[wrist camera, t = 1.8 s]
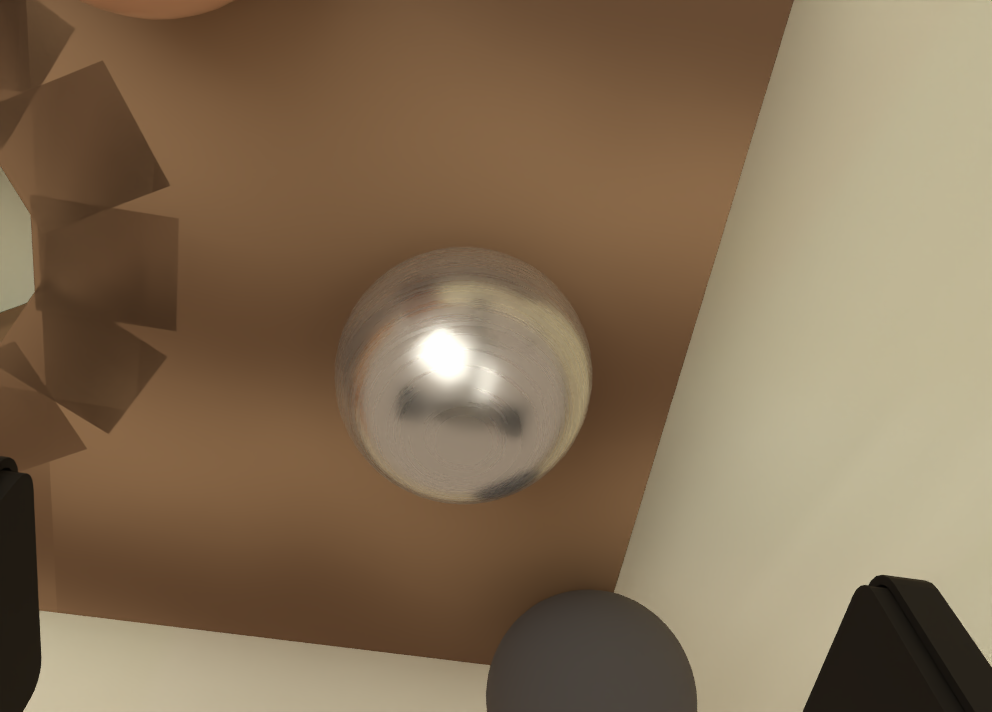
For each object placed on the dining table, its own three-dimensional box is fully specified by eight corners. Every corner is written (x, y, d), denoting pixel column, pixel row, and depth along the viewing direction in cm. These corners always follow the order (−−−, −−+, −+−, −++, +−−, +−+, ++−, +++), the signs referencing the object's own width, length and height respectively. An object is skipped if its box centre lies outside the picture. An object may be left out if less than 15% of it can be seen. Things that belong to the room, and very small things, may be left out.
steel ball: (365, 194, 15) (329, 288, 11) (602, 233, 15) (639, 336, 12) (341, 401, 17) (303, 540, 13) (554, 433, 17) (573, 575, 14)
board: (-454, -396, 13) (-642, -454, 11) (784, -138, 15) (836, -144, 13) (-250, 491, 21) (-339, 564, 18) (577, 598, 22) (587, 676, 20)
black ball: (504, 535, 18) (509, 692, 15) (697, 561, 19) (749, 719, 15) (471, 679, 20) (468, 850, 16) (648, 701, 20) (684, 872, 17)
